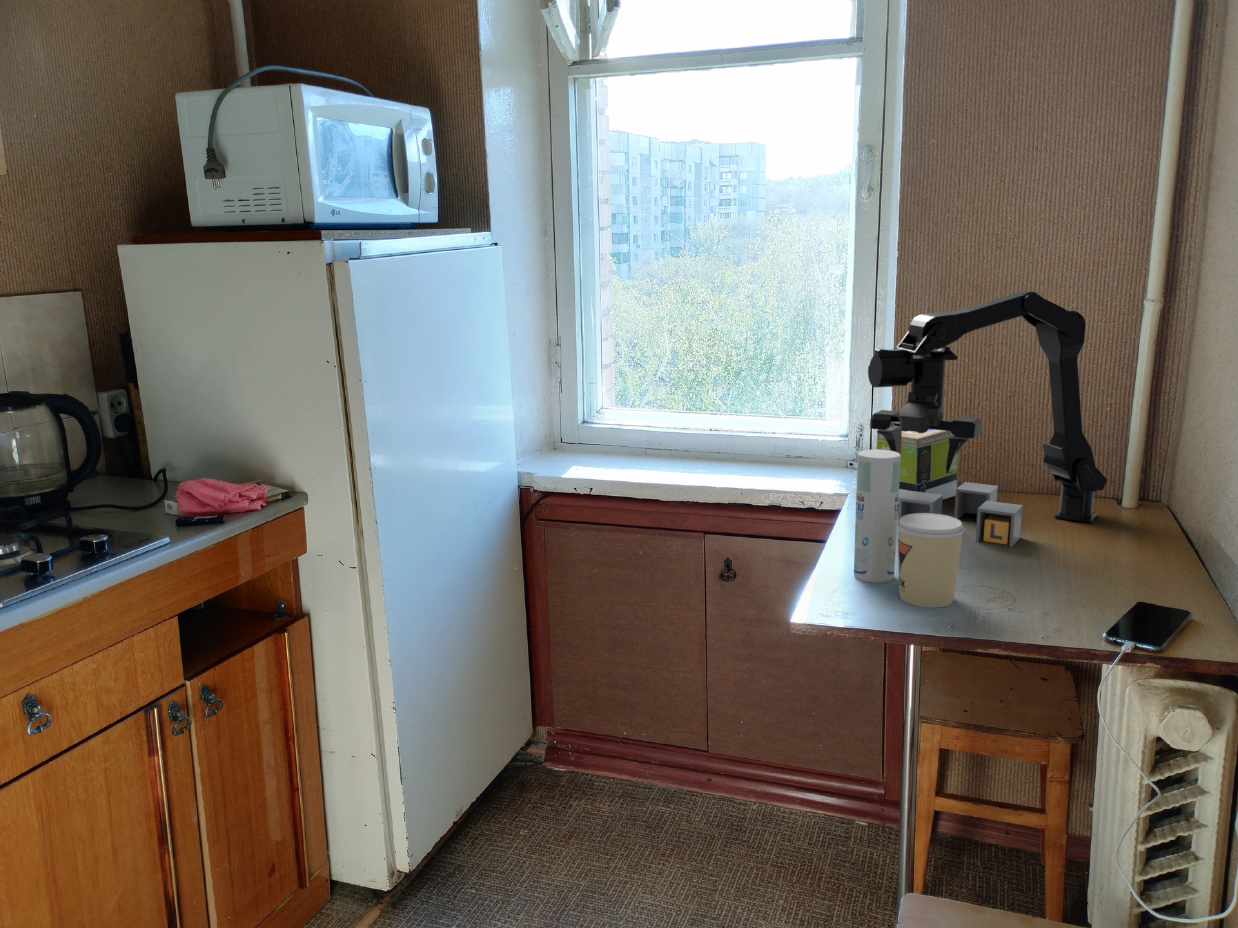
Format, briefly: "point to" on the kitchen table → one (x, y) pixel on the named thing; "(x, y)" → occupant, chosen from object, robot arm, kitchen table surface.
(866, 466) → the spray can
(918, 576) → the coffee cup
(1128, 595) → the kitchen table surface
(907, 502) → the grey u-shaped block
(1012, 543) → the grey bracket
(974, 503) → the open box
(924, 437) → the tea box
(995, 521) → the orange cube
